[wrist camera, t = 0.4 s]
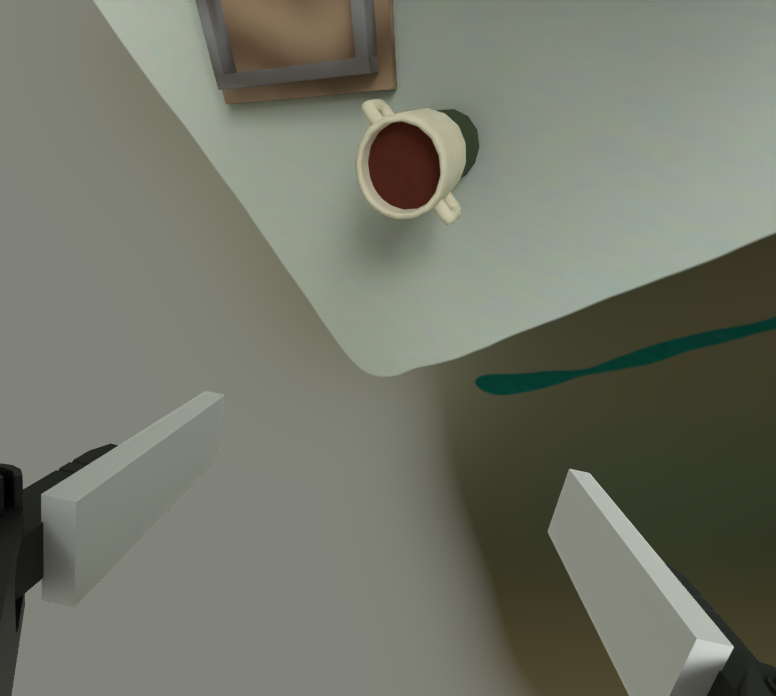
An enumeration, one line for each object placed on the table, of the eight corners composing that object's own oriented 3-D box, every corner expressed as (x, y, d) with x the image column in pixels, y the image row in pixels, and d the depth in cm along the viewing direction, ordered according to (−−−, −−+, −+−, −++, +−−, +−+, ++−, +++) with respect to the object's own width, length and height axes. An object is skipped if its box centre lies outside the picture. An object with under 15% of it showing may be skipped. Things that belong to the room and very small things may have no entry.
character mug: (387, 125, 39) (319, 141, 29) (441, 64, 34) (383, 58, 24) (452, 215, 41) (410, 258, 31) (511, 168, 36) (484, 202, 27)
